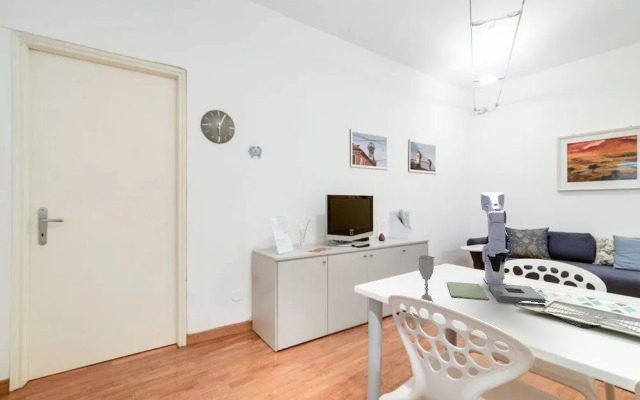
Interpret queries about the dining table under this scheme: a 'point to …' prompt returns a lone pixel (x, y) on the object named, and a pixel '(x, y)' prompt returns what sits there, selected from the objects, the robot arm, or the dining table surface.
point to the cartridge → (499, 273)
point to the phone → (577, 323)
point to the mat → (466, 290)
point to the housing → (515, 293)
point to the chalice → (426, 272)
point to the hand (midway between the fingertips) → (497, 270)
